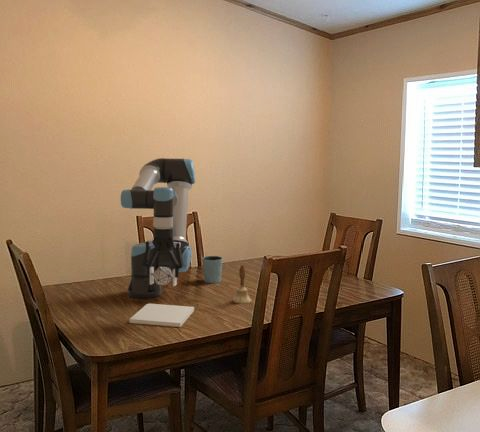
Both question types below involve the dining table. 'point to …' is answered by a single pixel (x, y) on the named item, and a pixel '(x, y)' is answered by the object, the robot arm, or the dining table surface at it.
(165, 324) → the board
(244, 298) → the hand bell
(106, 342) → the dining table surface
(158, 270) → the game die
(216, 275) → the blue cup
